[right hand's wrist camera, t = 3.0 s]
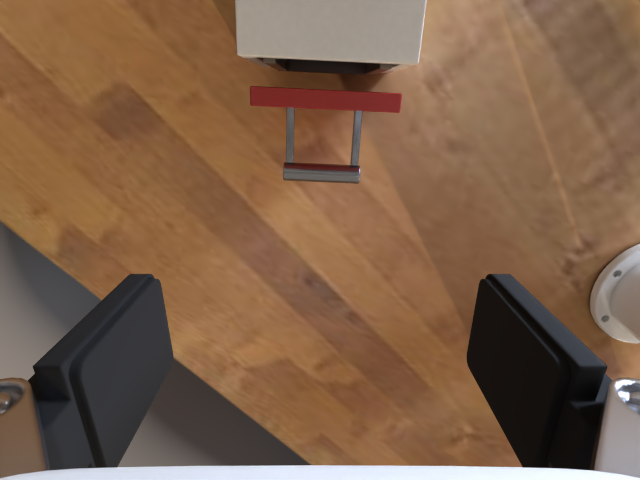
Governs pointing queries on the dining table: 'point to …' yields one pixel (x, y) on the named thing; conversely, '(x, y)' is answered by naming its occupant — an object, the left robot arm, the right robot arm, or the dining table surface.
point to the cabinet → (331, 30)
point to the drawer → (324, 100)
